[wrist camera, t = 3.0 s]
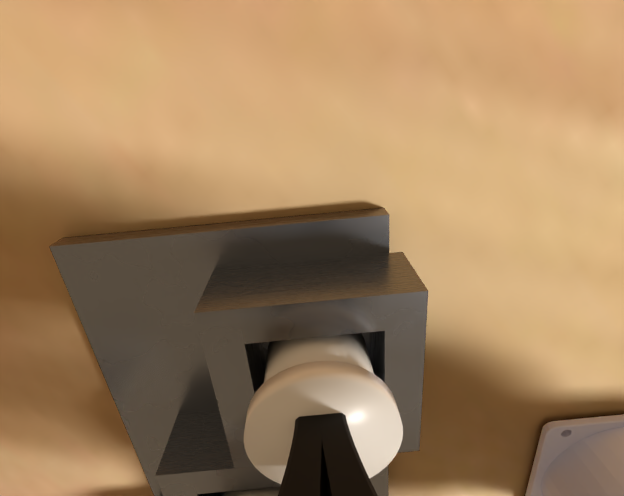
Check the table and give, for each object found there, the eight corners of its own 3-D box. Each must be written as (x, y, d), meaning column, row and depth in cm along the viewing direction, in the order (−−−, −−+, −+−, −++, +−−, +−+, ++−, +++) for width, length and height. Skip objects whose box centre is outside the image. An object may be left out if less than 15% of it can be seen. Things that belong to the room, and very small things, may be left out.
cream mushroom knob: (376, 296, 13) (404, 371, 9) (377, 392, 15) (401, 483, 11) (247, 309, 13) (230, 387, 9) (265, 403, 15) (256, 497, 11)
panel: (397, 206, 13) (430, 244, 10) (392, 561, 23) (408, 640, 20) (49, 239, 13) (-32, 288, 10) (192, 581, 23) (174, 663, 20)
